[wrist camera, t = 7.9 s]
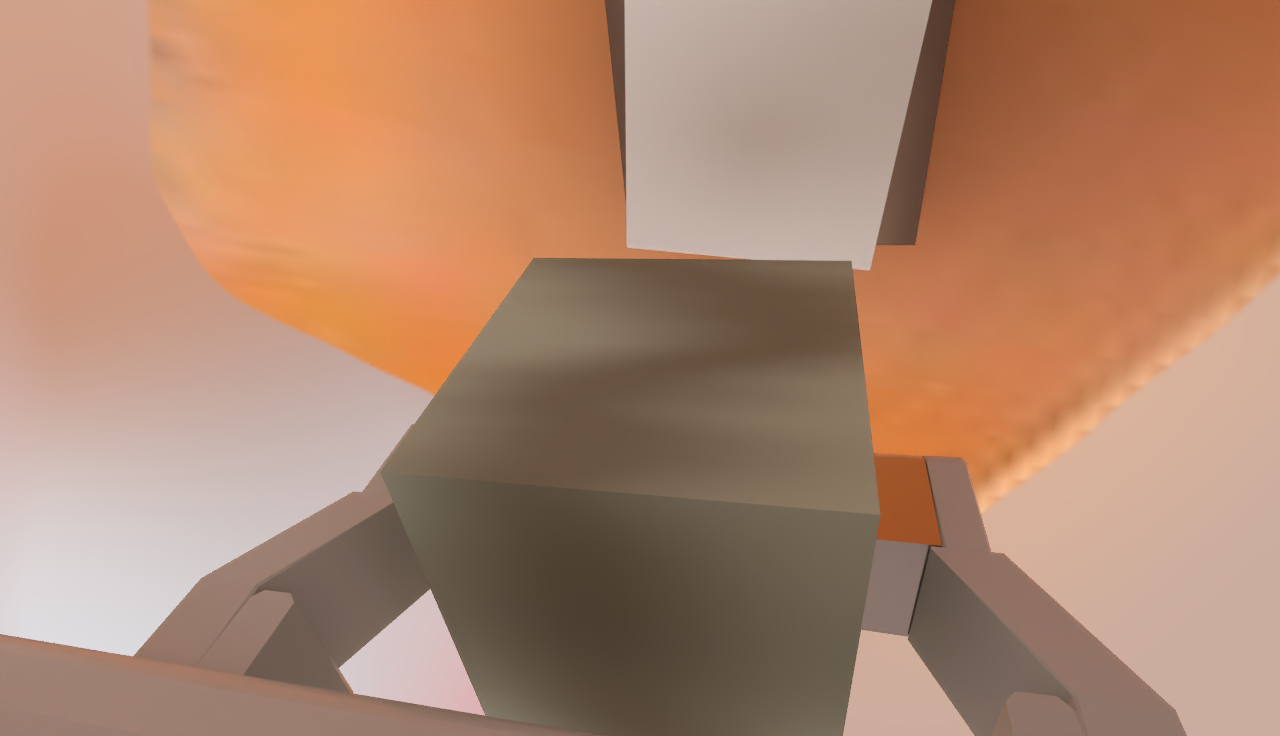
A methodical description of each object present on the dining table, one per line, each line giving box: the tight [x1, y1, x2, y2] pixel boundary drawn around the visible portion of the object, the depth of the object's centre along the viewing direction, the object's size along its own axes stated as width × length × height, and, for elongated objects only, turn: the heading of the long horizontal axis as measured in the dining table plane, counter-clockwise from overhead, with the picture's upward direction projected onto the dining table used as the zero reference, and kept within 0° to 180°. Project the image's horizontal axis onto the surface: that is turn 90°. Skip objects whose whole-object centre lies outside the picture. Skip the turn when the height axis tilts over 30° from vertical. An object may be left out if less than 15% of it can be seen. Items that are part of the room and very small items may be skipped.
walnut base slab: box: [605, 0, 955, 245], centre depth 27 cm, size 12×12×4 cm
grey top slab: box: [624, 0, 932, 271], centre depth 24 cm, size 9×9×4 cm
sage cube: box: [380, 258, 881, 736], centre depth 10 cm, size 5×5×5 cm
